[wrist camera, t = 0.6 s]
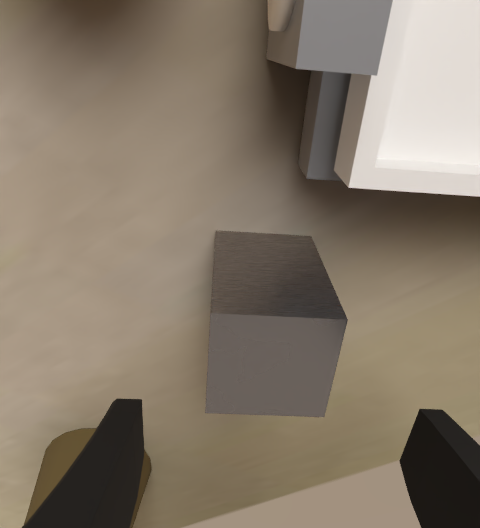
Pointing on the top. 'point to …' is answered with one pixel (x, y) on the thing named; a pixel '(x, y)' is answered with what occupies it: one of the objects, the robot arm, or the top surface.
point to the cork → (60, 461)
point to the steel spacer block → (271, 327)
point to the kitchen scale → (386, 90)
